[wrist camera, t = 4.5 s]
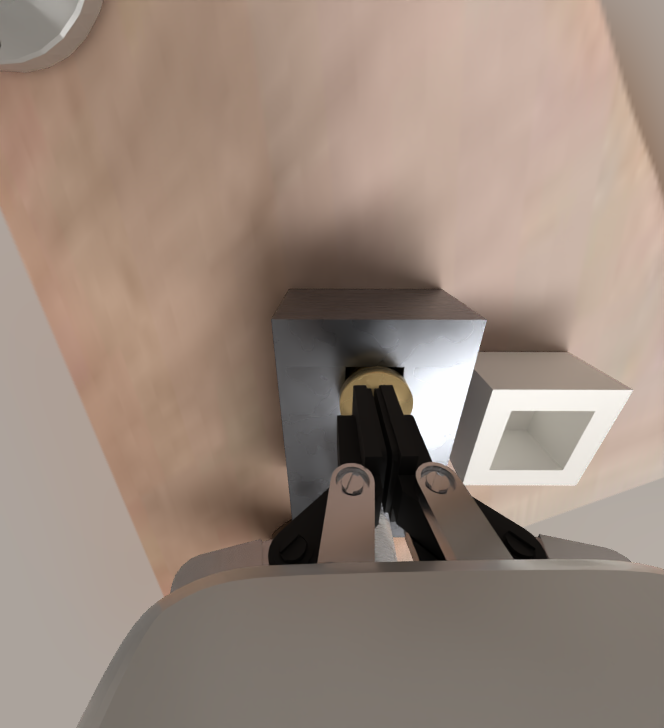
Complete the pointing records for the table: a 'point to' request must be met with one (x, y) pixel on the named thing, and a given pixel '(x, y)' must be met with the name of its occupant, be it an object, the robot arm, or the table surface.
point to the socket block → (367, 349)
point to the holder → (533, 418)
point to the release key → (375, 386)
